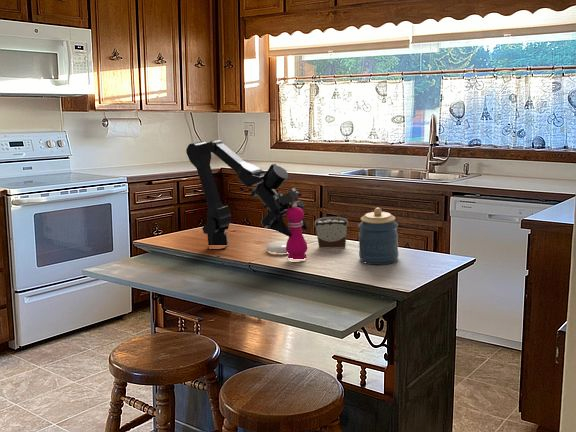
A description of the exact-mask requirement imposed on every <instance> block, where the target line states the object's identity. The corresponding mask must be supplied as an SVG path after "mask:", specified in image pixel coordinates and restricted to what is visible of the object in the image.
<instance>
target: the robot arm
mask: <svg viewBox="0 0 576 432" xmlns="http://www.w3.org/2000/svg"><path fill="white" fill-rule="evenodd" d="M185 151H186V156H187V158H188V160H189V162H190V164H191V165H193V166H194V168H195V169H196V172H197V174H198V178H199V181H200V184H201V188H202V190H203V194H204V197H205V200H206V204H207V210H206V221H207V222H206V223H204V225H203V226H202V232H203V234H205V235H207V244H208V245H227V244H229V242H228V234H227V233H226V231H227V230H229V227H230V224H231V222H232V214H231V212H230V207H229V205H224V203H222V201H221V197H220V194H219V190H218V188H217V184H216V181H215V177H214V175H213V171H212V167H211V160H212V154H214V155H215V156H216V157H217V158H218V159H219V160H220V161H222V162H223V163H225V164H226V165H227V166H228V167H229V168H230V169H232V170H233V171H234V172H235V173H236V176H237V178H238V180H239V181H240V182H241V184H243V185H244V186H245V187H253V186H256V187H253V188H251V193H250V197H251V198H253V197H256V196H257V197H258V198H259V200H260V201H261V202H262V204H264V205H263V208H264V209H265V210H267V209H268V212H267V213H266V214H265V215H264V216H263V218H262V219H261V225H262V226H263V228H264V229H266V228H267V229H269V230H273V231H276V232H278V233H281V234H283V235H285V236H286V237H288V238H289V237H291V236H292V234H291V232H290V228H289V227H288V225H287V224H286V223H285V222H284V219H283V217H284V216H285V217H286V212H287V210H288V209H289V208H291V207H292V203H294V202H295V203H297V207H299V208H301V209H302V210H303V211H304V209H305V205H306V204H305V203H304V202H303V200H299V196H300V192H299V191H298V190H297V189H296V188H294V187H293V188H291V189H289V190H288V192H286V193H285V194H283V193H278V192H277V191H276V190H278V189H280V187H281V186H282V185H283V183H284V182H285V181H286V180H287V179H288V178H289V172H288V171H287V170H286V169H285V168H284V167H282V166H279V165H277V164H276V163H272V164H271V165H269V168H268V169H267V171H265V170H263V169H262V168H260V167H259V166H257V165H255V164H253V163H249V162H247V161H246V160H245V161H244V159H243V158H241V157H240V156H239V155H238V154H237V153H235V152H234V151H233V150H232V149H231V148H229V147H228V146H227V145H226V144H225V143H224V142H223V141H222V140H220V139H216V140H211V141H209V142H206V141H204V140H202V141H198V142H193V143H189V144H188V146H187V147H186V149H185ZM291 202H292V203H291ZM302 221H303V225H302V229H303V230H304V231H306V230H308V226H307V223H306V220H305V218H304V217H303V219H302ZM208 245H207V246H208ZM227 246H228V245H227Z"/></svg>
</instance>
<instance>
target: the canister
mask: <svg viewBox="0 0 576 432" xmlns="http://www.w3.org/2000/svg"><path fill="white" fill-rule="evenodd" d="M395 220H396V216H394V215H392V214H391V213H390V212H386V211H382V208H380V207H375V208H374V210H373V211H370V212H367V213H365V214H364V215H363V216H361V217H360V222H359V224H358V225H357V226H358V228H359V233H358V242H359V243H358V245H359V247H358V248H359V252H358V256H359V260H360V261H361V262H362V263H364V262H366V263H370V264H369V265H372V264H385V265H389V264H393V263H396V262H397V261H398V259H399V241H398V240H399V233H398V232H397V230H398V229H397V228H398V227H399V223H398V222H396V221H395ZM366 263H365V264H366Z"/></svg>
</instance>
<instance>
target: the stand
mask: <svg viewBox="0 0 576 432" xmlns="http://www.w3.org/2000/svg"><path fill="white" fill-rule="evenodd" d="M287 241H288V240H277V241H272V242H269V243H267V245H266V251H267V250H268V251H271V252H276V253H287V251H286V244H287Z"/></svg>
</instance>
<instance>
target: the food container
mask: <svg viewBox="0 0 576 432" xmlns="http://www.w3.org/2000/svg"><path fill="white" fill-rule="evenodd" d="M348 226H350V225H349V221H348V219H347V218H344V217H341V216H326V217H320V218H317V219H316V220H315V221H314V224H313V227H314V228H315V229H316V238H317V243H318V249H339V248H341V249H342V248H343V249H344V248H346V245H347V243H346V242H347V232H348V229H347V228H348Z"/></svg>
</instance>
